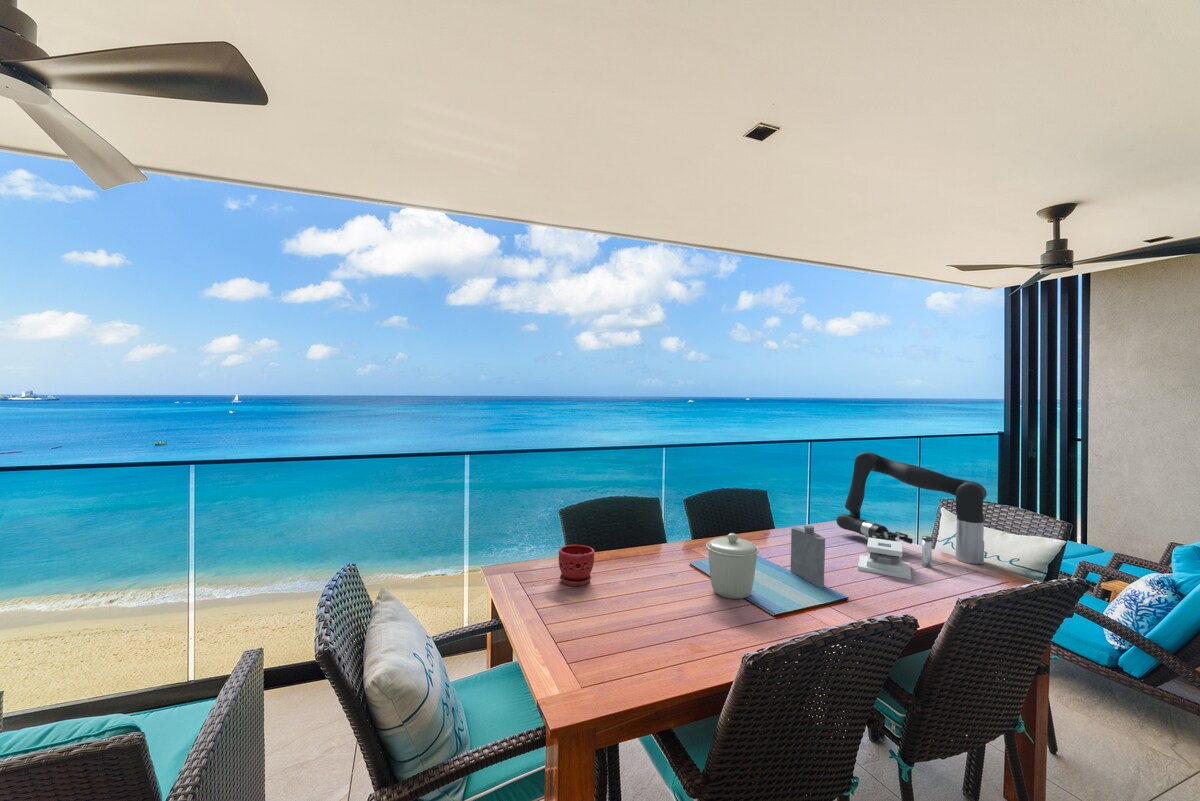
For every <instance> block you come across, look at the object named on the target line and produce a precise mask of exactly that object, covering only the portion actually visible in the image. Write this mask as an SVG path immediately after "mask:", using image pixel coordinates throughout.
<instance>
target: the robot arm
mask: <svg viewBox="0 0 1200 801" xmlns="http://www.w3.org/2000/svg"><path fill="white" fill-rule="evenodd" d="M871 472H875V473H880V474H882V475H883V474H884V475H887V476H890V477H892V478H893V479H896V480H898V481H899V482H902V483H904V484H906V485H909V486H912V487H915V488H919V489H923V490H927V491H928V490H929V491H935V492H940V493H946V494H950V495H953V496H954V497H955V513H956V532H955V535H956V536H955V537H956V538H955V559H956V560H957V561H959V562H963V563H965V564H974V565H984V563H985V541H984V536H985V535H984V533H985V532H984V531H985V530H984V529H985V515H984V500H985V499H986V498H987V495H988V494H987V490H986V488H985V487H984V486H983V485H982V484H980V483H978V482H976V481H972V480H966V479H962V478H956V477H953V476H948V475H946V474H943V473H940V472H936V471H934V470H931V469H929V468H926V467H922V466H917V465H914V464H910V463H906V462H902V461H896V460H892V459H889V458H888V457H887V458H886V457H885V456H884V457H883V456H881V455H879V454H877V453H874V452H870V451H869V452H868V451H867V452H865V451H864V452H860V453H858V454H857V455H856V456H855V459H854V464H853V472H852V478H851V484H850V486H849V491H848V494H847V497H846V499H845V503H844V508H845V509H846V510H847V511H849V514H848V513H847V514H846V513H842V514H839V515H837V517H836V525H837V527H839V528H841V529H843V530H846V531H849V532H854V533H857V534H859V535H861V536H865V537H866V538H868V537H869V538H876V539H883V540H890V541H897V542H903V543H904V542H905V543H907V544H909V545H912V544H913V542H914V540H913V538H912V537H909V535H908V534H905V533H903V532H900V531H895V532H894V531H892V530H891V531H890V530H888V528H887V526H885V525H882V524H879V523H877V522H873V521H868V520H866V519H862V518H861V508H862V506H863V502H864V499H865V493H866V492H865V491H866V483H867V481H868V477H869V475H870V473H871ZM896 538H897V539H896Z"/></svg>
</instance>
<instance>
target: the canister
mask: <svg viewBox="0 0 1200 801" xmlns="http://www.w3.org/2000/svg"><path fill="white" fill-rule="evenodd" d="M705 547H706V549H707V554H708V565H709V567H708V568H709V576H710V584H711V588H712V589H713V591H714V593H716V594H717V595H718V596H721V597H723V598H727V599H731V600H733V599H734V600H738V599H739V600H742V599H745V598H747V597H749V595H751V593H752V591H753V585H754V580H755V573H756V567H757V561H758V560H757V558H758V554H759V553H760V548H759V547H758V545H756V544H754V543H753V542H751V541H749V540H747V539H744V538H739V537H738V535H737V534H736V533H734V532H731V533H729V534H727V536H724V537H723V536H722V537H716V538H713V539H711V540H709V541H707V542H706V543H705Z"/></svg>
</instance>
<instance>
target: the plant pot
mask: <svg viewBox="0 0 1200 801" xmlns="http://www.w3.org/2000/svg"><path fill="white" fill-rule="evenodd" d="M594 562H595V549H594V548H592V547H591V546H588V545H582V544H569V545H563V546H561V547H560V548H559V549H558V566H559V569H560V572H561V574H560V575H559V579H560V581H561V582H562V583H563V584H565V585H568V586H574V587H575V586H576V587H578V586H584V585H587V584H588V583H589V582H590V581H591V579H592V575H591V573H592V571H593V568H594Z"/></svg>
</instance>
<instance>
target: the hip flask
mask: <svg viewBox="0 0 1200 801" xmlns="http://www.w3.org/2000/svg"><path fill="white" fill-rule="evenodd" d="M790 532H791V533H790V536H791V537H790V539H791V540H790V568H789V569H790V573H791V574H794V575H795V576H798V577H801V578H802V579H805V580H806V581H808V582H810V583H811V582H812V583H811V584H813V585H815V586H816V587H822V588H823V587H824V586H825V566H826V565H825V560H826V559H825V558H826V556H825V555H826V537H824V536H822V535H820V534H818V533H816V532H815V526H813V525H810V524H809V525H807V524H805V525H803V528H800V527H797V526H793V527H791V531H790Z"/></svg>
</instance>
